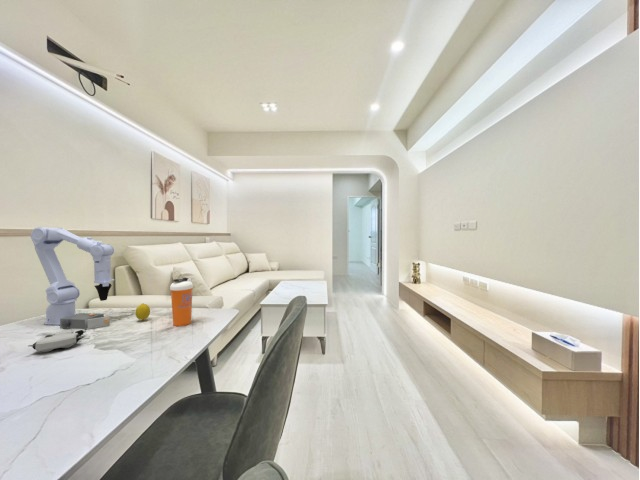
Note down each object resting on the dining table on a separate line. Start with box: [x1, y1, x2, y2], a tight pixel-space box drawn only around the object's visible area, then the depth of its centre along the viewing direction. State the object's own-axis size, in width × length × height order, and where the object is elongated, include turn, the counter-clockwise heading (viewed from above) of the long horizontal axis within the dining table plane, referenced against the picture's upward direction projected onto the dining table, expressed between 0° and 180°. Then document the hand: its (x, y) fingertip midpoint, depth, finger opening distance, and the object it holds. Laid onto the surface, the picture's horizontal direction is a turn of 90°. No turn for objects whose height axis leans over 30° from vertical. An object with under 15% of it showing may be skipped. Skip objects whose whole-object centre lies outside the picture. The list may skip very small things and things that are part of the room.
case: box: [59, 312, 105, 330], centre depth 109 cm, size 12×9×5 cm
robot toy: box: [27, 329, 87, 353], centre depth 89 cm, size 12×4×15 cm
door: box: [84, 315, 110, 330], centre depth 106 cm, size 2×8×4 cm, turn 123°
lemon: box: [135, 303, 151, 322], centre depth 115 cm, size 6×6×8 cm
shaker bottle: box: [169, 277, 194, 327], centre depth 110 cm, size 9×9×20 cm
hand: (103, 300), depth 114 cm, fingers closed
